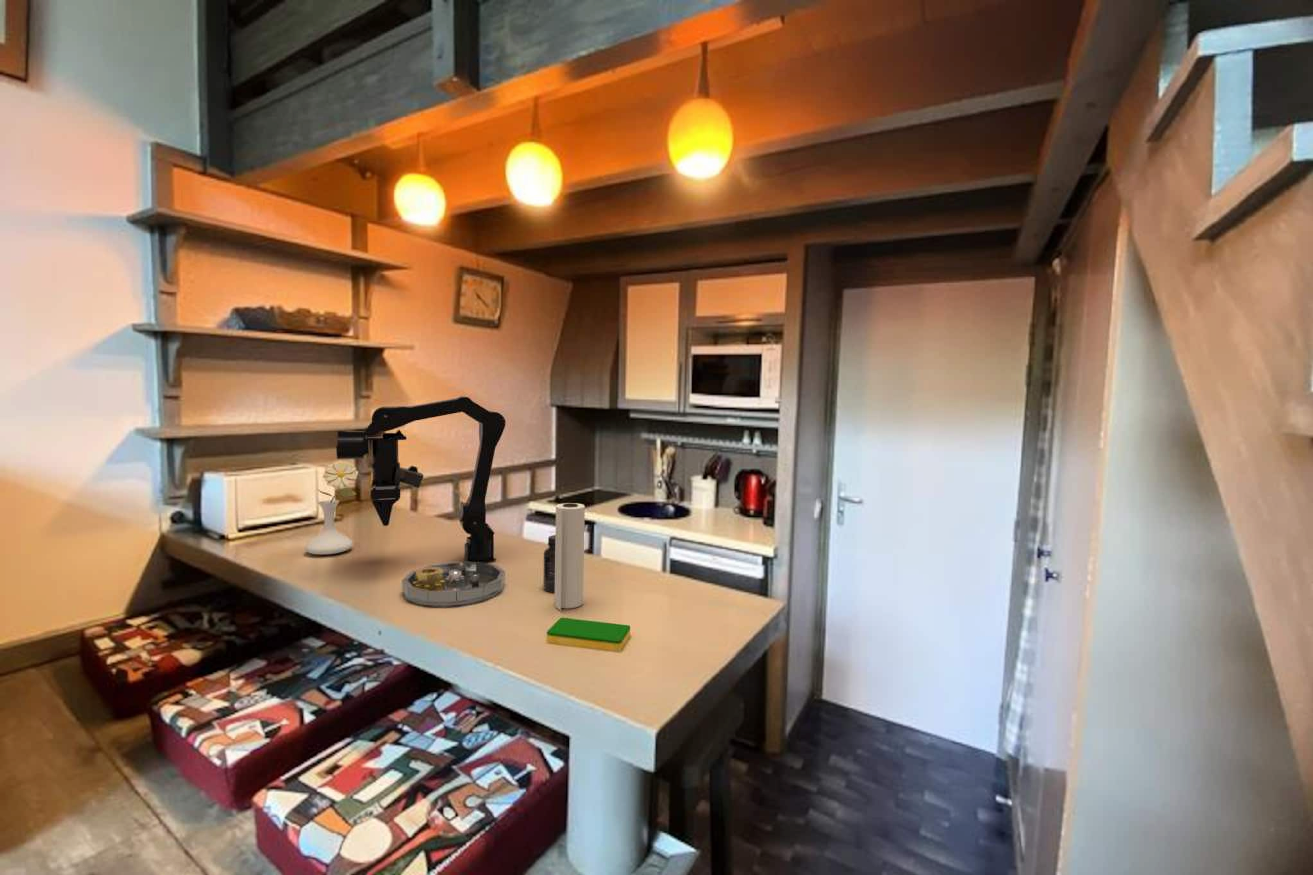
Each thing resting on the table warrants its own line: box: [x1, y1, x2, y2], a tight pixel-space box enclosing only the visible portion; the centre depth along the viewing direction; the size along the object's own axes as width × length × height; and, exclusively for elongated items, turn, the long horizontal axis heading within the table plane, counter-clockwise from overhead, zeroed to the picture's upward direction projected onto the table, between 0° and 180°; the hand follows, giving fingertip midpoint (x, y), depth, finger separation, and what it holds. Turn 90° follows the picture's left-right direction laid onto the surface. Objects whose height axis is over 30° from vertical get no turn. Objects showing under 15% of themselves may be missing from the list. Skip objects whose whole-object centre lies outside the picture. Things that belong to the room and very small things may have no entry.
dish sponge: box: [546, 617, 631, 652], centre depth 102 cm, size 7×14×2 cm, turn 78°
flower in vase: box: [304, 459, 359, 555], centre depth 150 cm, size 13×11×25 cm
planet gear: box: [413, 567, 445, 591], centre depth 122 cm, size 6×6×4 cm
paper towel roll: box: [554, 502, 586, 613], centre depth 118 cm, size 7×6×21 cm
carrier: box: [401, 561, 506, 608], centre depth 125 cm, size 21×21×4 cm
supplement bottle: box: [542, 534, 556, 594], centre depth 128 cm, size 7×7×12 cm
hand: (385, 521), depth 137 cm, fingers open, 9 cm apart
